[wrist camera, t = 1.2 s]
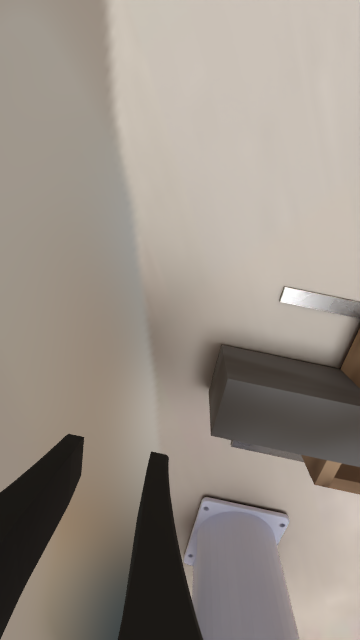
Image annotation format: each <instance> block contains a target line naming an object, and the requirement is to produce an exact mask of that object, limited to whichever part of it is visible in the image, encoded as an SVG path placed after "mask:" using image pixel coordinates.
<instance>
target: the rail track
mask: <svg viewBox="0 0 360 640" xmlns="http://www.w3.org/2000/svg"><path fill="white" fill-rule="evenodd" d="M280 302H283V303H288V304H293V305H298V306H303V307H307V308H312V309H317V310H322V311H327V312H332V313H337V314H342V315H346V316H351V317H356V318H360V302H357V301H352V300H347V299H342V298H338V297H333V296H328V295H323V294H318V293H313V292H308V291H303V290H298V289H294V288H289V287H284V289H283V292H282V295H281V298H280ZM231 447H236V448H240V449H245V450H250V451H255V452H259V453H264V454H269V455H273V456H278V457H283V458H287V459H292V460H297V461H301V462H304V460H303V458H302V456H301V455H300V454H295V453H291V452H286V451H281V450H276V449H272V448H267V447H262V446H258V445H253V444H248V443H244V442H239V441H234V440H232V443H231Z"/></svg>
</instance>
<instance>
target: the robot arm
mask: <svg viewBox="0 0 360 640" xmlns="http://www.w3.org/2000/svg"><path fill="white" fill-rule="evenodd" d="M83 444H84V437H81V436H76V435H71V434H68V435H66V436H65V437H64V438H63V439H62V440H61V441H60V442H59V443H58V444H57V445H56V446H54V447H53V448H52V449H51V450H50V451H49V452H48V453H47V454H46V455H44V456H43V458H41V459H40V460H39V461H38V462H37V463H35V464H34V465H33V466H32V467H31V468H30V469H28V470H27V471H26V472H25V473H24V474H22V475H21V476H20V477H19V478H18V479H17V480H15V481H14V482H13V483H12V484H11V485H9V486H8V487H7V488H6V489H4V490H3V491H2V492H0V639H1V637H2V635H3V632H4V630H5V628H6V626H7V623H8V621H9V619H10V617H11V615H12V613H13V610H14V608H15V606H16V604H17V602H18V599H19V597H20V595H21V593H22V591H23V589H24V587H25V585H26V583H27V581H28V579H29V577H30V576H31V574H32V572H33V570H34V568H35V566H36V565H37V563H38V561H39V559H40V557H41V555H42V553H43V551H44V550H45V548H46V546H47V544H48V542H49V540H50V539H51V537H52V535H53V533H54V531H55V529H56V527H57V525H58V524H59V521H60V520H61V518H62V516H63V514H64V512H65V510H66V508H67V506H68V505H69V502H70V500H71V498H72V495H73V493H74V491H75V488H76V486H77V483H78V481H79V479H80V476H81V470H82V456H83ZM168 460H169V457H168V456H167V455H165V454H160V453H156V452H151V454H150V459H149V463H148V467H147V472H146V476H145V482H144V487H143V492H142V497H141V502H140V507H139V512H138V517H137V523H136V530H135V536H134V543H133V550H132V558H131V564H130V571H129V578H128V585H127V592H126V599H125V605H124V611H123V616H122V622H121V627H120V632H119V636H118V640H300V639H299V635H298V631H297V626H296V622H295V618H294V614H293V610H292V606H291V602H290V598H289V594H288V589H287V585H286V581H285V577H284V573H283V569H282V565H281V561H280V556H279V552H278V548H277V545H278V543H279V541H280V539H281V537H282V535H283V534H284V532H285V530H286V528H287V526H288V524H289V518H288V516H287V515H286V514H283V513H279V512H274V511H269V510H265V509H260V508H255V507H251V506H246V505H242V504H237V503H232V502H228V501H223V500H218V499H214V498H209V497H205V498H203V499H202V501H201V505H200V508H199V511H198V514H197V517H196V520H195V523H194V527H193V530H192V533H191V536H190V539H189V542H188V546H187V549H186V552H185V555H184V563H185V564H187V565H192V566H193V595H192V599H191V596H190V592H189V588H188V584H187V580H186V576H185V572H184V568H183V563H182V559H181V554H180V550H179V545H178V540H177V535H176V529H175V524H174V518H173V511H172V504H171V497H170V487H169V474H168Z"/></svg>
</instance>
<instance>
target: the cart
mask: <svg viewBox="0 0 360 640" xmlns="http://www.w3.org/2000/svg"><path fill="white" fill-rule="evenodd" d="M209 404H210V425H211V436H215V437H220V438H225V439H229V440H234V441H239V442H244V443H248V444H253V445H258V446H262V447H267V448H272V449H276V450H281V451H286V452H291V453H295V454H300V455H301V456H302V458H303V460H304V463H305V465H306V467H307V469H308V471H309V474H310V476H311V478H312V480H313V482H314V485H319V486H323V487H328V488H333V489H337V490H342V491H347V492H351V493H356V494H360V329H359V331H358V333H357V335H356V337H355V339H354V341H353V344H352V346H351V348H350V350H349V352H348V354H347V356H346V359H345V361H344V363H343V365H342V367H341V369H336V368H331V367H326V366H322V365H317V364H312V363H307V362H302V361H298V360H293V359H288V358H283V357H278V356H274V355H269V354H264V353H259V352H254V351H249V350H245V349H240V348H235V347H230V346H225V345H221V349H220V353H219V356H218V360H217V364H216V367H215V371H214V375H213V378H212V382H211V386H210V389H209Z"/></svg>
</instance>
